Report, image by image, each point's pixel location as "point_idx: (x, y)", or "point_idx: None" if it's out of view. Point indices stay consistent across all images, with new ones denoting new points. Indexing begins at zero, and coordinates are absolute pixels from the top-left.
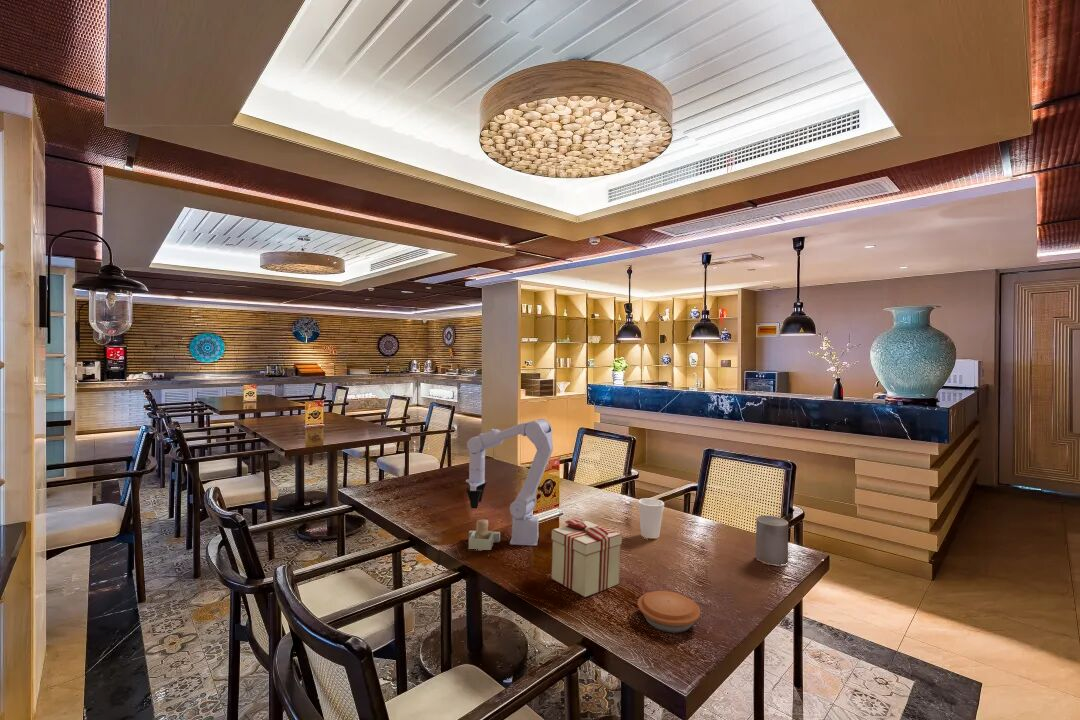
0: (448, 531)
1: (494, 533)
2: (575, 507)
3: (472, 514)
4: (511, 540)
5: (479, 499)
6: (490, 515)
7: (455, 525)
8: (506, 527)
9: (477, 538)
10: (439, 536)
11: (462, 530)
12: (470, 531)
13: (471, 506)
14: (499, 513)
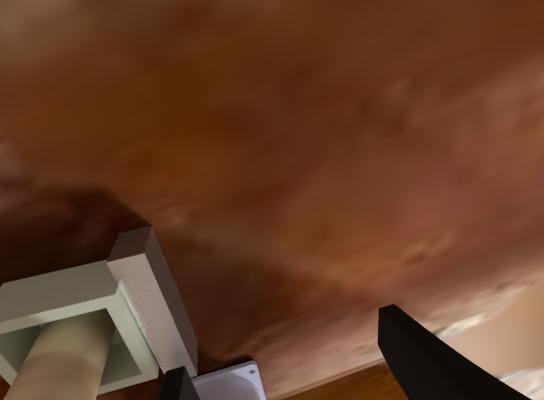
0: (214, 44)
1: (163, 368)
2: (540, 385)
3: (525, 80)
4: (194, 384)
5: (392, 360)
6: (498, 182)
7: (335, 48)
8: (349, 302)
9: (32, 347)
10: (91, 14)
11: (261, 132)
12: (129, 264)
13: (161, 393)
14: (520, 210)
